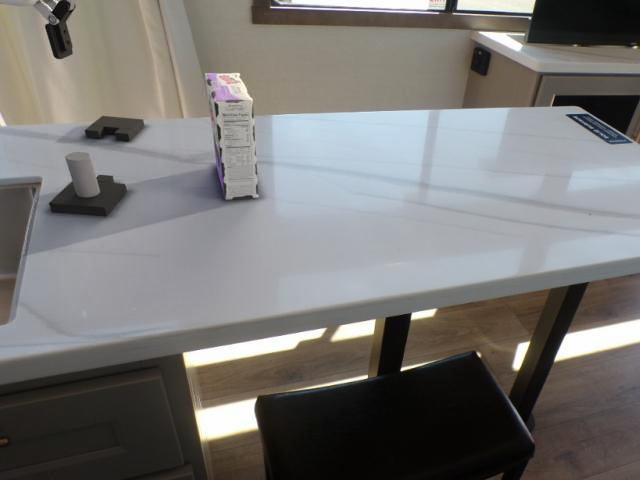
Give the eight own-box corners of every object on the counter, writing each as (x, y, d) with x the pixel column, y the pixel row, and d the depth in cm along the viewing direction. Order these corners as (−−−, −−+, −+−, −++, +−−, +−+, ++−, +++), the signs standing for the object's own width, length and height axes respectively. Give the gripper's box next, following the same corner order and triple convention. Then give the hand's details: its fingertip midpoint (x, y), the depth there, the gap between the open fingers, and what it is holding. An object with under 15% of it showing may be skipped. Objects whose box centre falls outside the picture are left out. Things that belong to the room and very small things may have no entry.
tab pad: (51, 212, 78) (34, 164, 73) (82, 181, 86) (69, 137, 81) (106, 216, 78) (94, 169, 74) (133, 185, 86) (122, 141, 82)
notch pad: (86, 137, 99) (84, 129, 98) (104, 122, 105) (102, 115, 104) (129, 141, 100) (128, 133, 99) (144, 126, 106) (143, 119, 105)
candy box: (215, 165, 95) (203, 71, 85) (248, 163, 97) (240, 71, 87) (224, 201, 85) (212, 99, 75) (260, 198, 87) (253, 98, 77)
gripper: (-139, -128, 53) (-63, 51, 64) (29, -109, 54) (77, 67, 64) (-81, -125, 59) (-21, 38, 70) (70, -108, 59) (108, 53, 70)
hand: (26, 52), depth 67 cm, fingers open, 9 cm apart
